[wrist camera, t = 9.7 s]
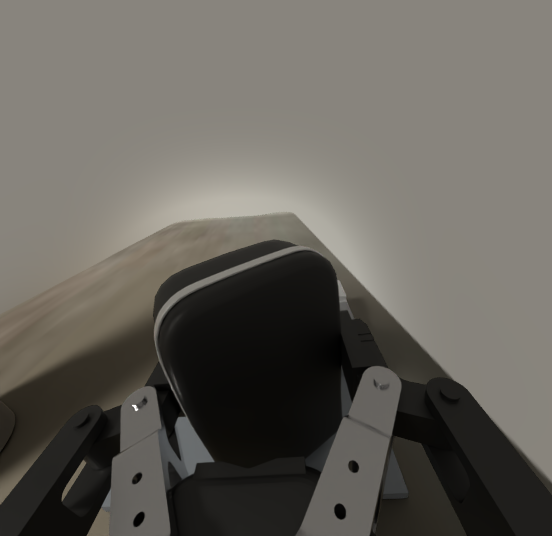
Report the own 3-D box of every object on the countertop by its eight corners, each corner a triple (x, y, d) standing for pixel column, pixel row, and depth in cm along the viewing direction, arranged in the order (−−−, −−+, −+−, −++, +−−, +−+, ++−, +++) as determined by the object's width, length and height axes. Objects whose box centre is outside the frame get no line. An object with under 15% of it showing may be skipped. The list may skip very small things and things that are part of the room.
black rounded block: (307, 380, 16) (285, 223, 11) (348, 426, 13) (343, 238, 8) (213, 444, 14) (129, 273, 9) (238, 521, 11) (130, 325, 6)
